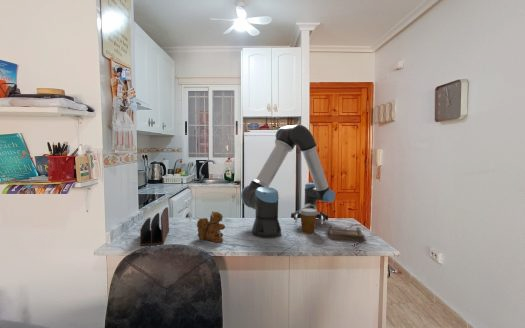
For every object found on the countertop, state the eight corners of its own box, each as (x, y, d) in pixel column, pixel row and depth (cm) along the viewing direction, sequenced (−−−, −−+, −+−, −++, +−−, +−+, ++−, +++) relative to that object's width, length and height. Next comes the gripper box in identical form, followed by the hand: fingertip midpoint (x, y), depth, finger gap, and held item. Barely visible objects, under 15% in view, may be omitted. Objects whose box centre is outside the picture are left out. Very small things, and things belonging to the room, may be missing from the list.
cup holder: (329, 229, 146) (329, 224, 146) (358, 231, 143) (358, 226, 143) (330, 239, 131) (330, 233, 131) (363, 241, 128) (363, 236, 128)
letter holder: (169, 231, 140) (168, 204, 139) (163, 245, 121) (163, 214, 120) (149, 232, 138) (148, 205, 137) (139, 246, 119) (139, 215, 118)
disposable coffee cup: (316, 229, 146) (316, 207, 145) (318, 235, 136) (318, 212, 136) (298, 228, 147) (299, 207, 146) (299, 234, 137) (299, 211, 136)
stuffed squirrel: (224, 242, 125) (224, 214, 124) (193, 242, 125) (193, 214, 124) (226, 235, 135) (226, 209, 134) (198, 235, 134) (198, 209, 134)
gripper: (331, 218, 159) (333, 229, 138) (289, 215, 163) (285, 225, 143) (331, 206, 158) (333, 215, 137) (289, 203, 163) (285, 212, 142)
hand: (309, 220), depth 140 cm, fingers open, 13 cm apart
